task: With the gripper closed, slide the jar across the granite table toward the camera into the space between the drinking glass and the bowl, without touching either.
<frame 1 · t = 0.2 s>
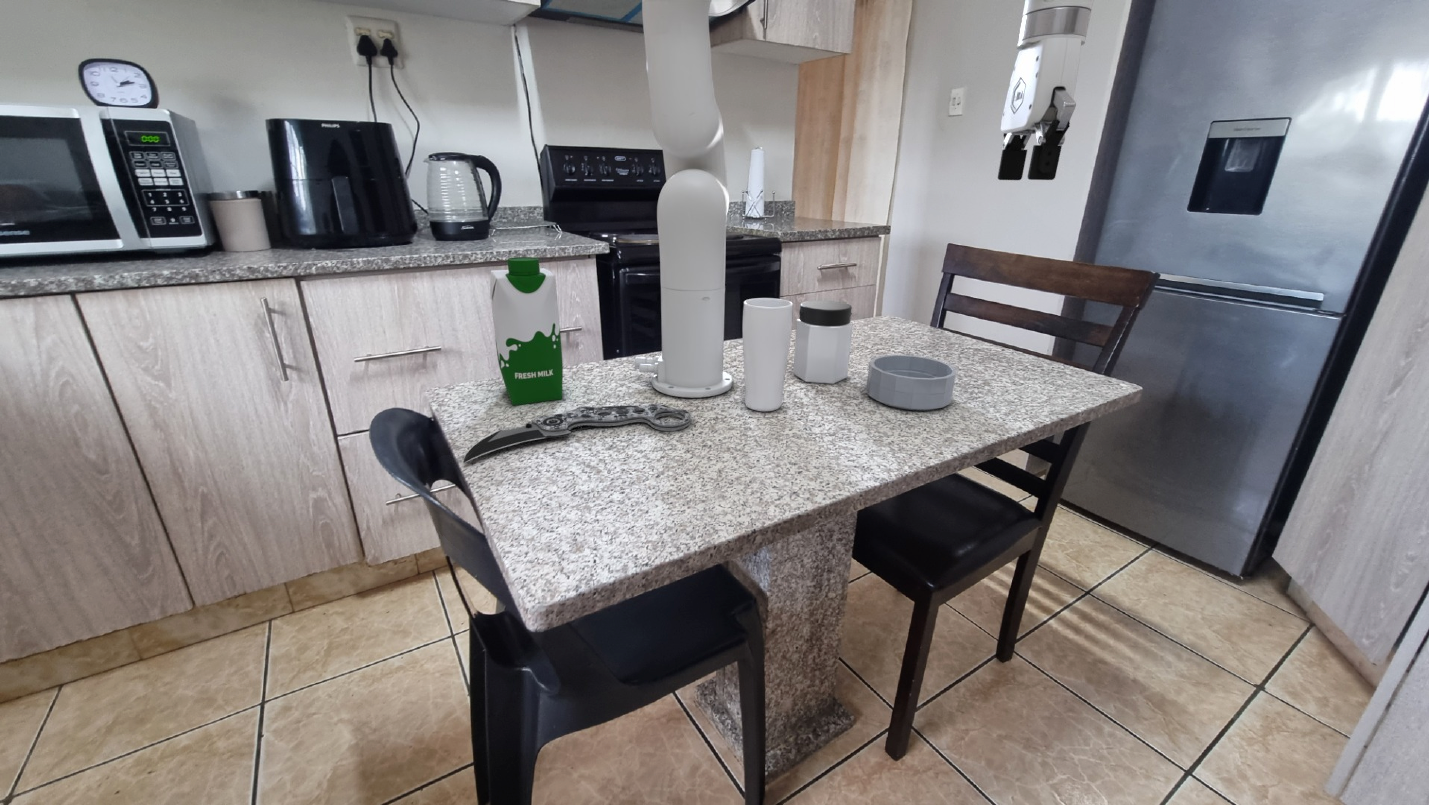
hand: (1024, 179, 78), 31 cm above the table, tool pointing down, fingers open, 9 cm apart
drinking glass: (763, 407, 84), on the table
milk carton: (534, 395, 86), on the table
bowl: (907, 397, 88), on the table
jar: (819, 377, 97), on the table
knife: (582, 434, 74), on the table
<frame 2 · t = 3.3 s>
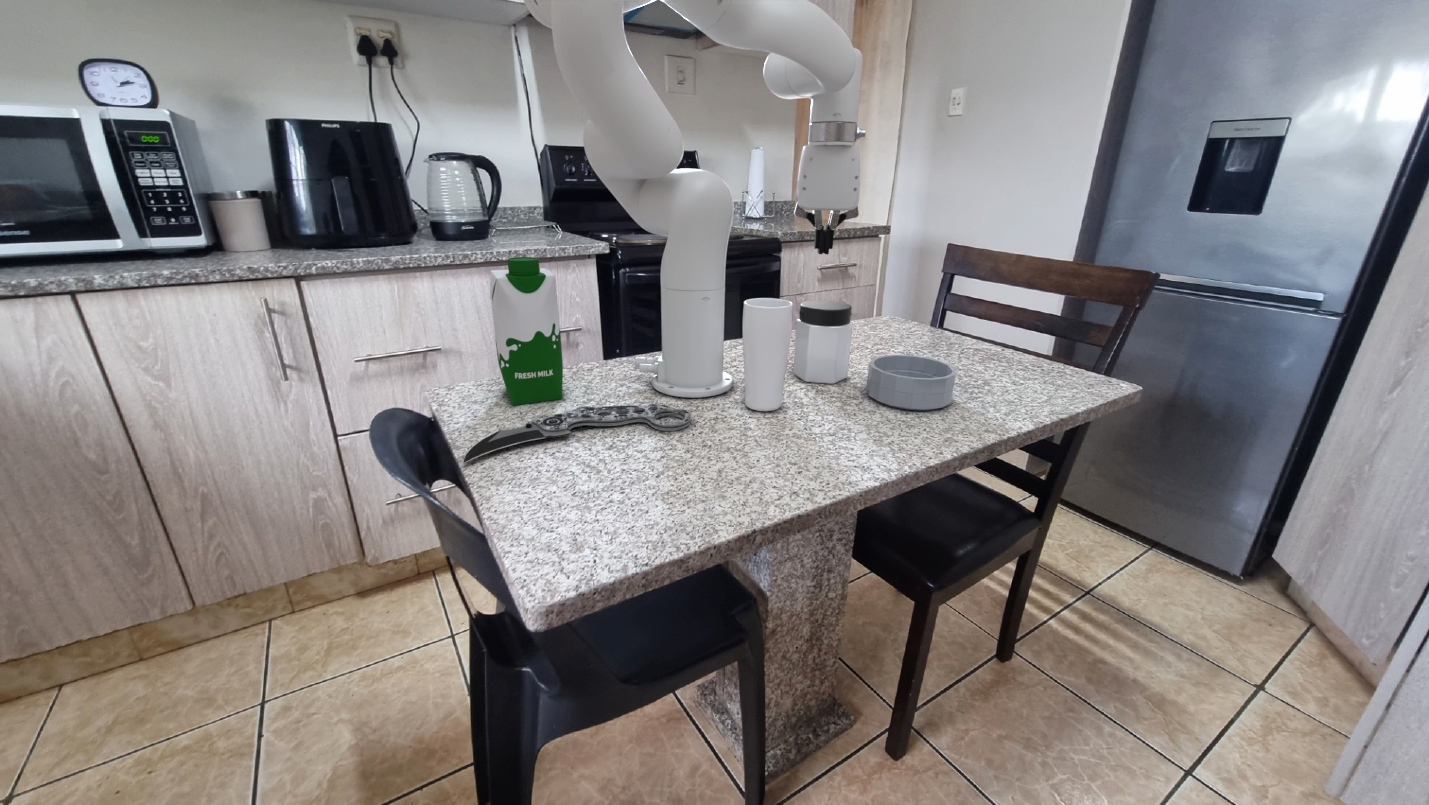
hand: (822, 253, 100), 19 cm above the table, tool pointing down, fingers closed
nothing on the table moved.
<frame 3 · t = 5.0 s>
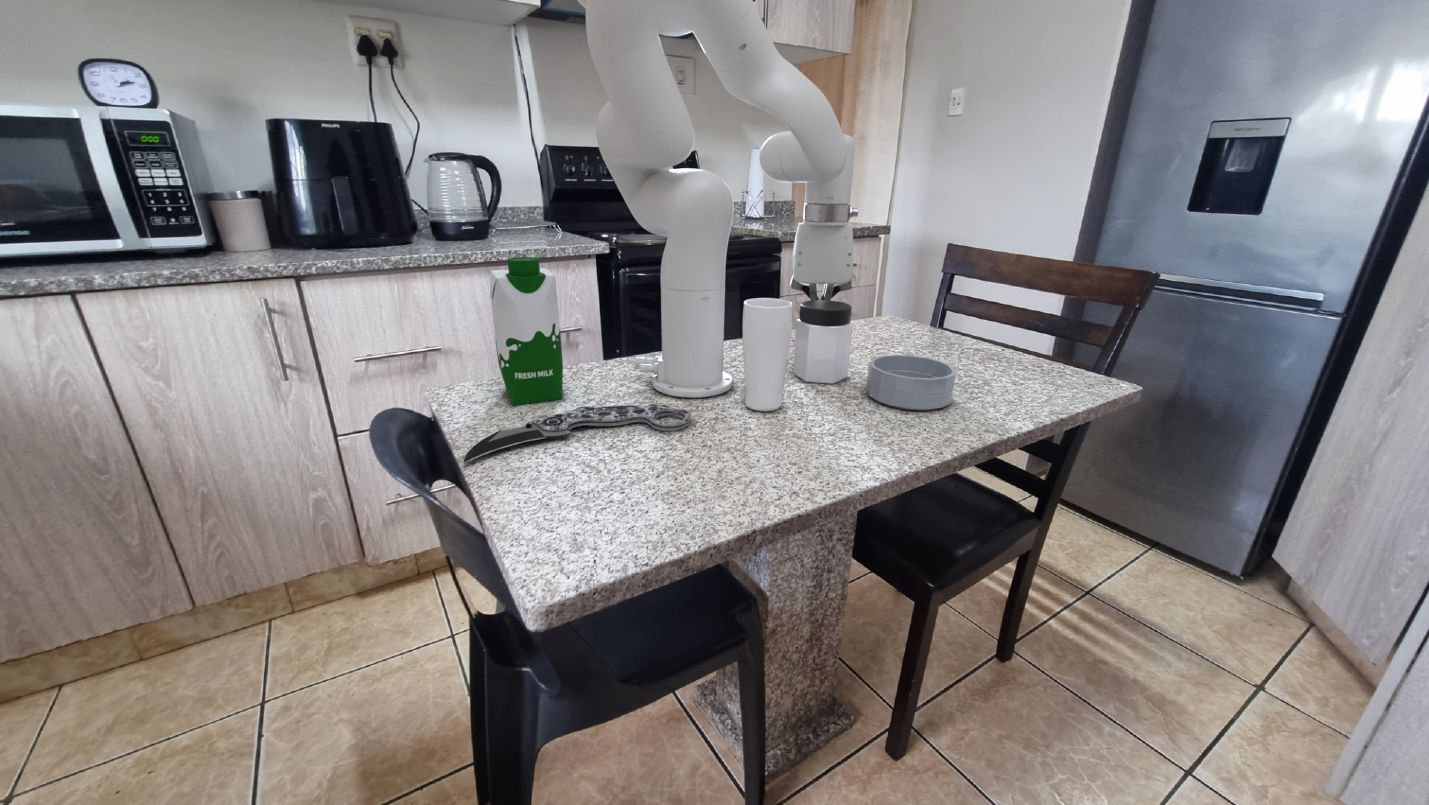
hand: (817, 322, 104), 7 cm above the table, tool pointing down, fingers closed
nothing on the table moved.
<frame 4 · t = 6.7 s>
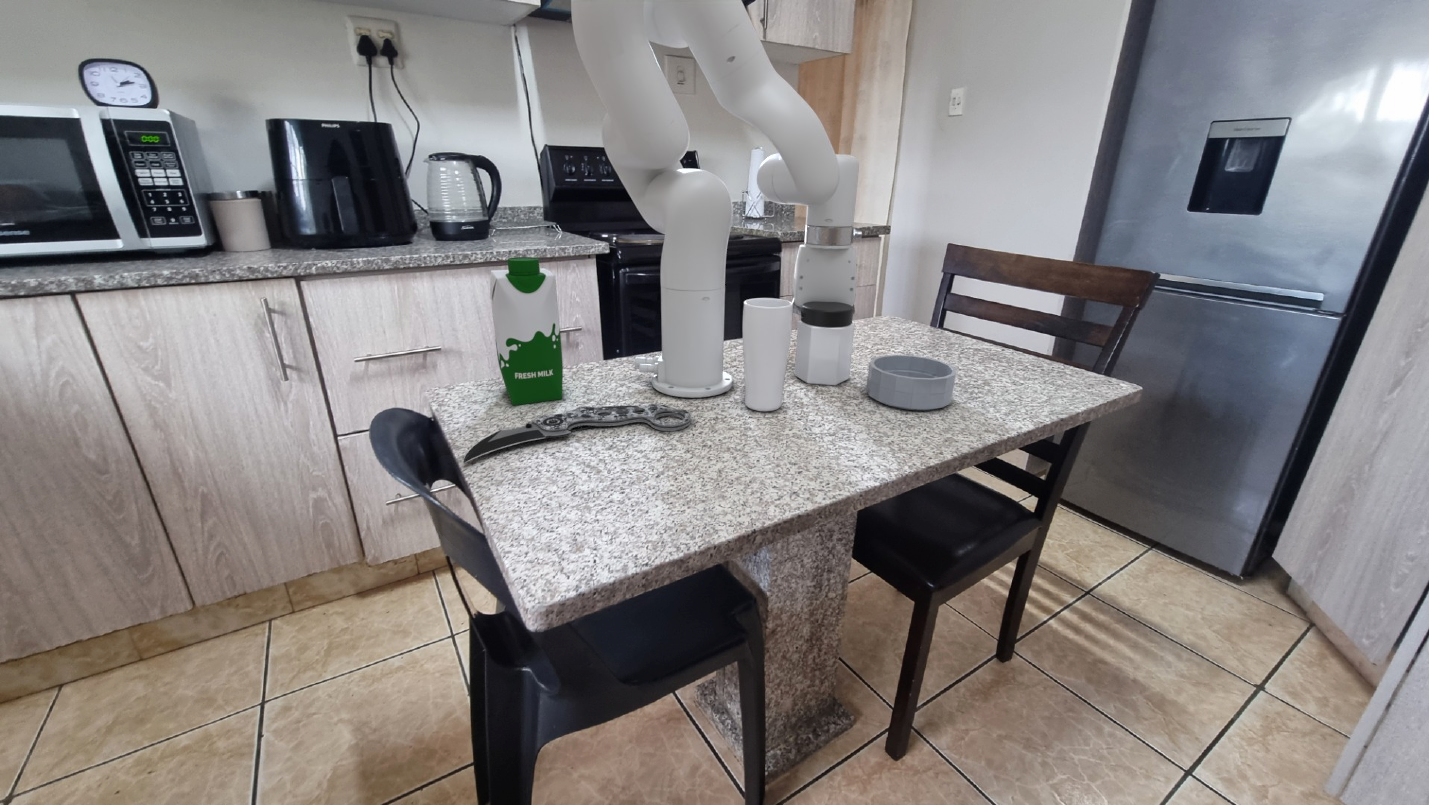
hand: (819, 347, 100), 4 cm above the table, tool pointing down, fingers closed
jar: (821, 378, 96), on the table, touching gripper
everything else where it was.
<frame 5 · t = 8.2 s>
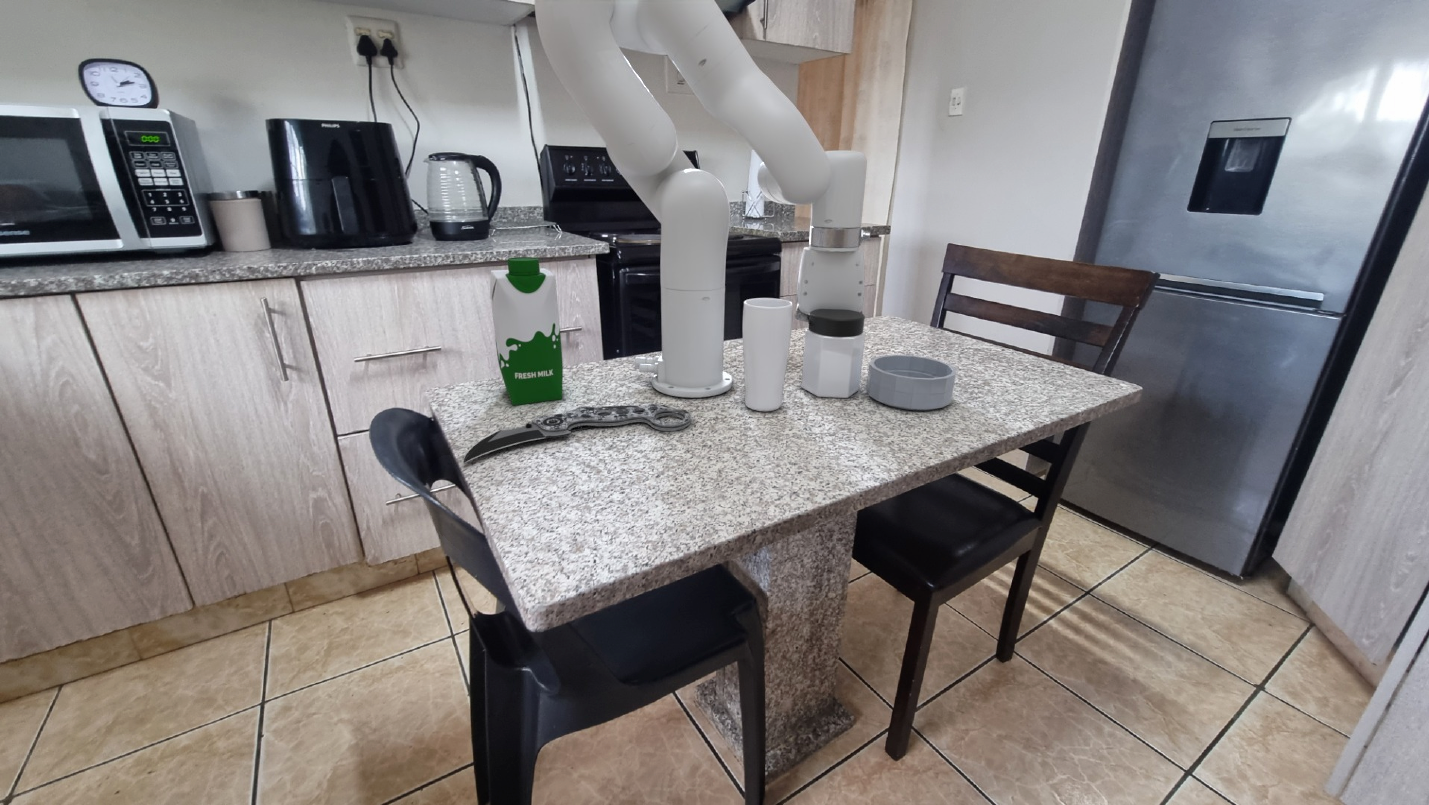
hand: (825, 355, 95), 4 cm above the table, tool pointing down, fingers closed
jar: (829, 390, 91), on the table, touching gripper
everything else where it was.
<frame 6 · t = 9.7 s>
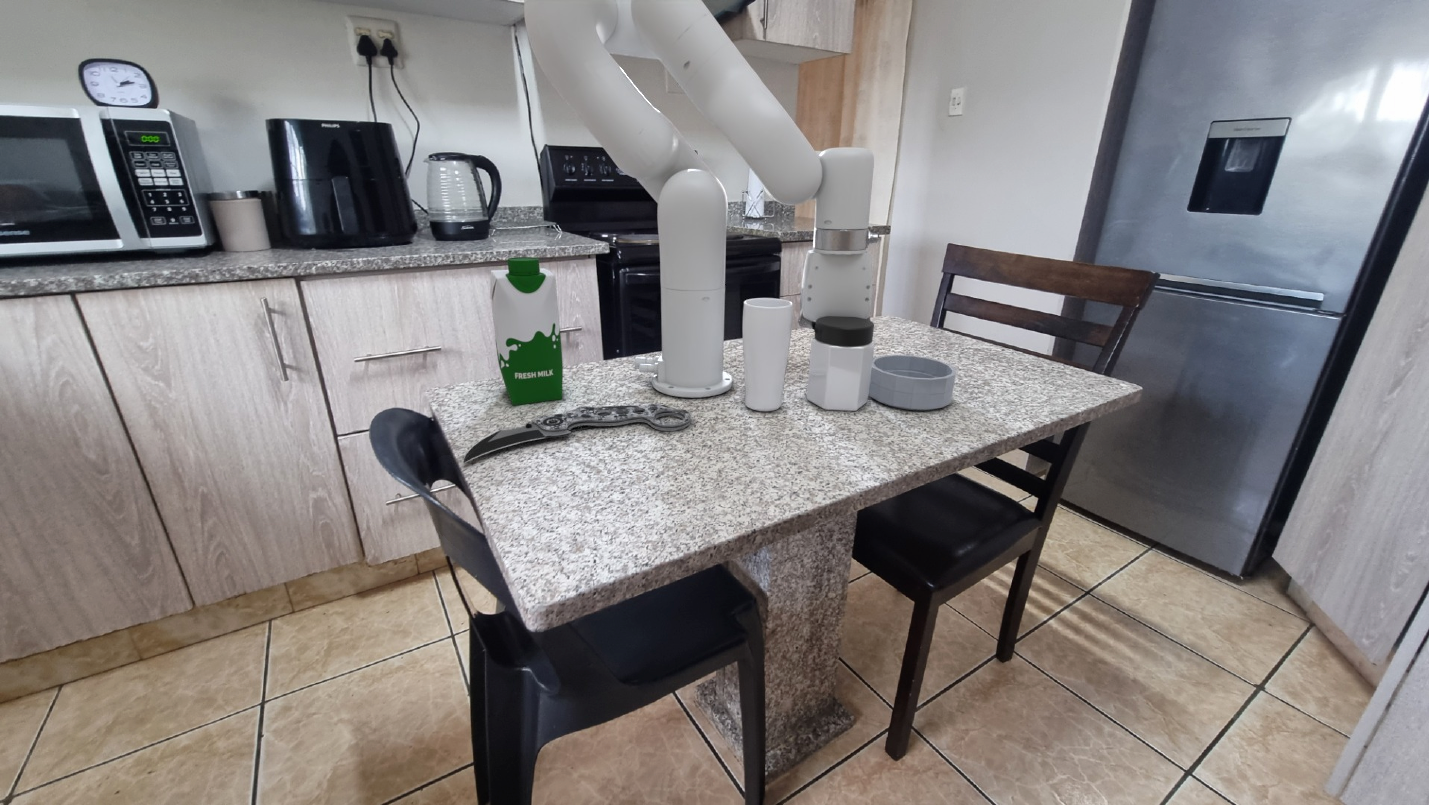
hand: (830, 364, 90), 4 cm above the table, tool pointing down, fingers closed
jar: (836, 402, 86), on the table, touching gripper
everything else where it was.
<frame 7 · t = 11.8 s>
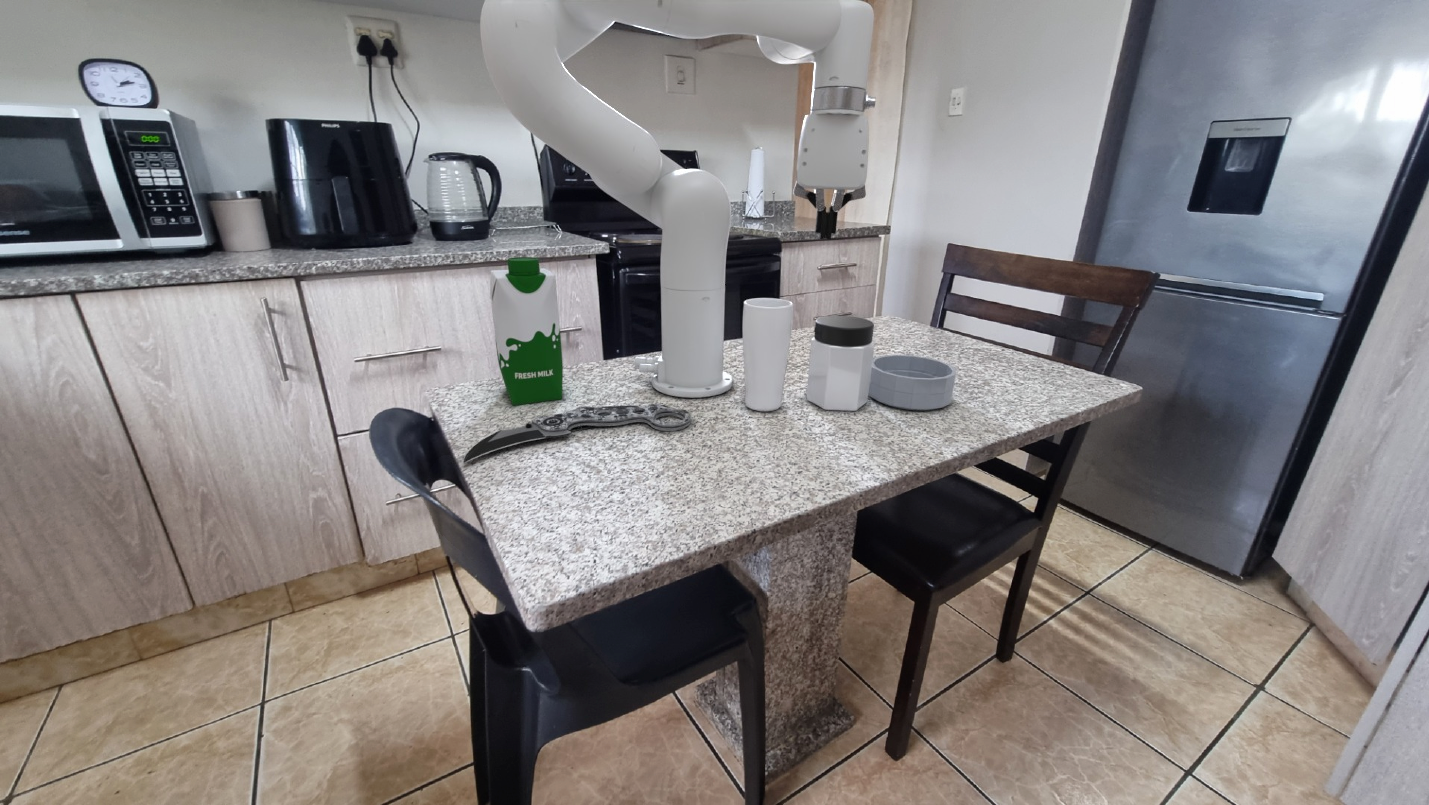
hand: (824, 238, 89), 22 cm above the table, tool pointing down, fingers closed
jar: (836, 402, 86), on the table
everything else where it was.
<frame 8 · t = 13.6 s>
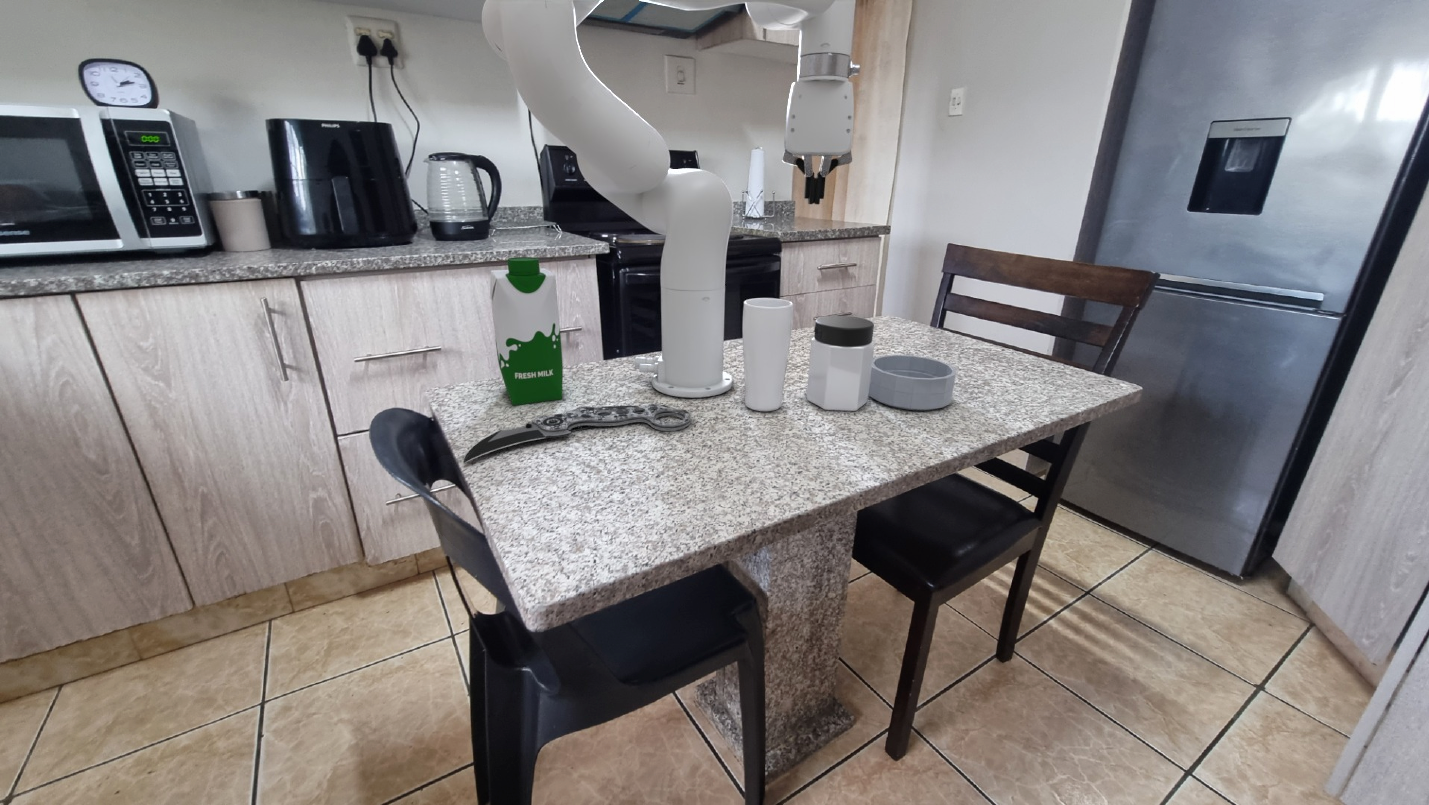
hand: (813, 203, 92), 27 cm above the table, tool pointing down, fingers closed
nothing on the table moved.
at the end: jar inside the target area (1.3 cm from its centre), on the table; jar tilted 0°; drinking glass moved 0.2 cm from its start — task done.
